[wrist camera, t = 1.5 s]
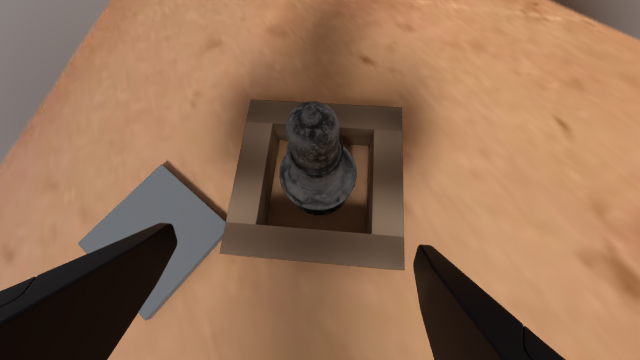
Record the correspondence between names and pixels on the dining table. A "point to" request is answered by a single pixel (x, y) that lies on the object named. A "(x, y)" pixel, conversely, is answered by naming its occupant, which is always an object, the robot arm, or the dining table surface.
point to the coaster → (162, 207)
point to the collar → (310, 244)
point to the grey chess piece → (316, 160)
